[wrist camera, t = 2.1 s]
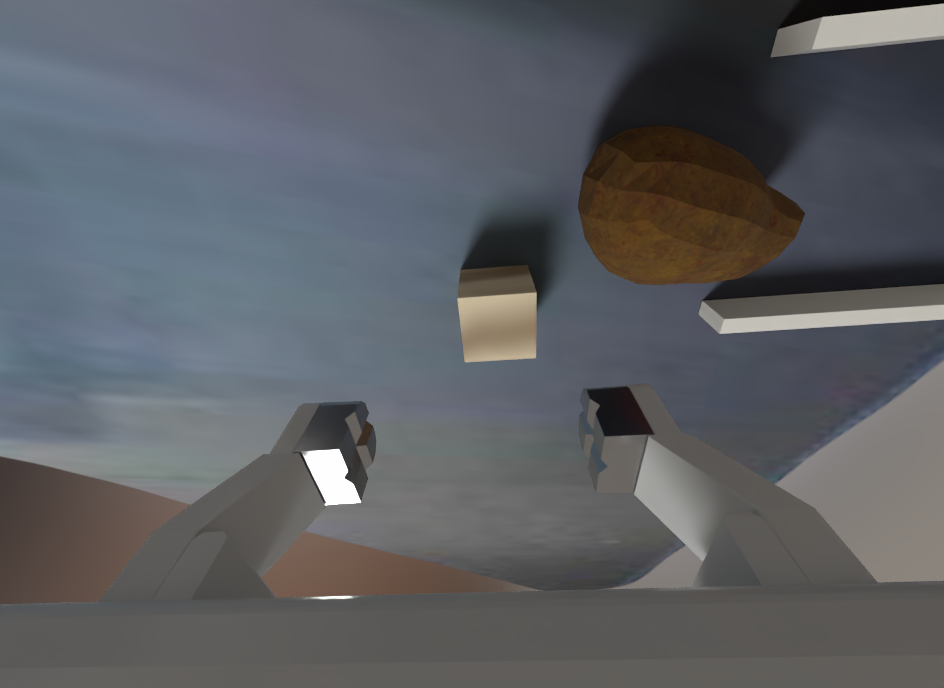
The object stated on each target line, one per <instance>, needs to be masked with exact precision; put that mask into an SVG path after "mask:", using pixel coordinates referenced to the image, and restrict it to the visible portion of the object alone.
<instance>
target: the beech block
mask: <svg viewBox="0 0 944 688" xmlns="http://www.w3.org/2000/svg"><path fill="white" fill-rule="evenodd" d="M536 306H537V292H536V289H535V286H534V283H533V280H532V277H531V274H530V271H529V268H528V265H519V266H505V267H492V268H479V269H466V270H460V279H459V289H458V307H459V316H460V324H461V333H462V341H463V350H464V359H465V362H478V361H494V360H510V359H526V358H536Z"/></svg>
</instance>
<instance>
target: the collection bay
mask: <svg viewBox="0 0 944 688" xmlns="http://www.w3.org/2000/svg"><path fill="white" fill-rule="evenodd" d="M938 39H944V4H936V5H927V6H918V7H909V8H900V9H891V10H882V11H873V12H864V13H855V14H846V15H837V16H828V17H821V18H818V19H814V20H810V21H807V22H803V23H799V24H796V25H792V26H788V27H785V28H781V29H778V32H777V35H776V39H775V42H774V46H773V49H772V53H771V57H778V56H788V55H797V54H806V53H816V52H825V51H835V50H844V49H854V48H863V47H872V46H882V45H891V44H901V43H910V42H919V41H929V40H938ZM699 315H700V316H701V317H702V318H703V319H704V320H705V321H706V322H707V323H708V324H709V325H711V326H712V327H713V328H714V329H715V330H716V331H717V332H718V333H719V334H724V333H740V332H755V331H771V330H786V329H802V328H817V327H833V326H849V325H864V324H880V323H895V322H911V321H926V320H942V319H944V284H935V285H921V286H907V287H892V288H878V289H864V290H849V291H835V292H821V293H806V294H792V295H777V296H763V297H749V298H734V299H720V300H706V301H702V304H701V307H700V311H699Z"/></svg>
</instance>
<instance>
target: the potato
mask: <svg viewBox="0 0 944 688" xmlns="http://www.w3.org/2000/svg"><path fill="white" fill-rule="evenodd" d="M578 209H579V213H580V218H581V222H582V227H583V231H584V236H585V239H586V241H587V242H588V244H589V246H590V248H591V249H592V251H593V253H594V255H595V256H596V258H597V259H598V260H599V261H600V262H601V263H602V264H603V266H604V267H605V268H606V269H607V270H608V271H609V272H611V273H613V274H616V275H618V276H620V277H622V278H624V279H627V280H629V281H632V282H634V283H637V284H651V285H665V284H678V283H710V282H717V281H724V280H731V279H738V278H740V277H742V276H745V275H747V274H749V273H751V272H754V271H756V270H758V269H759V268H761V267H762V266H764V265H765V264H767V263H768V262H770V261H771V260H773V259H774V258H776V257H777V256H779V255H780V254H781V253H782V252H783V251H784V249H785V248H786V247H787V246H788V245H789V244H790V243H791V242H792V241H793V240H794V239H795V237H796V235H797V232H798V230H799V227H800V225H801V222H802V220H803V217H804V214H805V213H804V212H803V210H802V209H801V208H800V207H799V206H798V205H797V204H796V203H795V202H793V201H792V200H790V199H789V198H788V197H786V196H785V195H783V194H782V193H780V192H778V191H777V190H775V189H773V188H771V187H770V186H768V185H767V184H766V182H765V180H764V177H763V175H762V174H761V173H760V172H759V171H758V170H757V168H756V167H755V166H754V165H753V164H752V163H751V162H750V161H749V160H748V159H747V158H746V157H745V156H743V155H742V154H740V153H739V152H738V151H736V150H734V149H732V148H730V147H728V146H725V145H723V144H721V143H719V142H717V141H715V140H713V139H710V138H708V137H706V136H704V135H701V134H699V133H696V132H693V131H690V130H687V129H684V128H681V127H671V126H659V125H657V126H648V127H639V128H632V129H628V130H625V131H622V132H621V133H619V134H617V135H616V136H614V137H612V138H610V139H609V140H607V141H605V142H604V143H602V144H600V145H599V146H598V148H597V150H596V152H595V154H594V155H593V157H592V159H591V161H590V163H589V165H588V167H587V169H586V170H585V172H584V174H583V178H582V185H581V191H580V197H579V203H578Z"/></svg>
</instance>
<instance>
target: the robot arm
mask: <svg viewBox="0 0 944 688" xmlns="http://www.w3.org/2000/svg"><path fill="white" fill-rule="evenodd" d="M581 404H582V407H583V410H584V411H583V412H582V413H581V414H580V415H579V437H580V442H581V446H582V450H583V453H584V454H585V455H586V456H588V457H589V467H588V469H589V472H590V475H591V479H592V482H593V485H594V488H595V491H596V493H633V492H635V493H634V495H635V496H636V497H637V498H638V499H640V500H641V501H642V502H643V503H644V504H645V505H646V506H647V507H648V508H649V509H650V510H651V511H652V512H653V513H654V514H655V515H656V516H657V517H658V518H659V519H660V520H661V521H662V522H663V523H664V524H665V525H666V526H667V527H668V528H669V529H670V530H671V531H672V532H673V533H674V534H675V535H676V536H677V537H678V538H679V539H681V540H682V541H683V542H684V543H685V544H686V545H687V546H688V547H689V548H690V549H691V550H692V551H693V552H694V553H695V554H696V555H697V556H698V557H699V558H700V559H701V560H702V561H703V563H702V565H701V567H700V569H699V571H698V573H697V575H696V577H695V579H694V581H693V583H692V586H691V587H688V588H687V587H685V588H649V589H648V588H646V589H603V590H562V591H522V592H480V593H441V594H402V595H364V596H325V597H324V596H323V597H283V598H275V595H274V593H273V591H272V590H271V589H270V588H269V586H268V585H267V584H266V583H265V581H264V580H263V579H262V577H263V576H264V575H265V573H266V572H267V571H268V570H269V569H270V568H271V567H272V566H273V564H275V562H276V561H277V560H278V559H279V558H280V557H281V556H282V555H283V554H284V552H285V551H286V550H287V549H288V548H289V547H290V546H291V545H292V544H293V543H294V541H295V540H296V539H297V538H298V537H299V536H300V535H301V534H302V533H303V532H304V530H305V529H306V528H307V527H308V526H309V525H310V524H311V523H312V522H313V520H314V519H315V518H316V517H317V516H318V515H319V514H320V513H321V512H322V511H323V509H324V508H325V507H326V506H325V505H331V504H345V503H360V502H361V500H362V496H363V493H364V490H365V487H366V483H367V480H368V477H367V474H366V471H365V470H366V469H367V468H368V467H369V466H370V465H371V464H372V463H373V460H374V456H375V451H376V436H375V431H374V428H373V426H372V425H371V424H370V423H368V422H367V421H366V419H367V417H368V414H369V412H368V410H367V407H366V404H365V403H364V402H362V401H352V402H323V403H304V404H302V405H301V406H299V407H298V409H297V410H296V412H295V414H294V415H293V417H292V419H291V420H290V422H289V423H288V425H287V427H286V428H285V430H284V432H283V433H282V435H281V436H280V438H279V440H278V441H277V443H276V444H275V446H274V448H273V449H272V451H271V453H270V454H263V455H262V456H260V457H259V458H258V459H256V460H255V461H253V462H252V463H250V464H249V465H248V466H246V467H245V468H243V469H242V470H240V471H239V472H238V473H236V474H235V475H233V476H232V477H230V478H229V479H227V480H226V481H225V482H223V483H222V484H220V485H219V486H217V487H216V488H215V489H213V490H212V491H210V492H209V493H207V494H206V495H205V496H203V497H202V498H200V499H199V500H197V501H196V502H195V503H193V504H192V505H190V506H189V507H187V508H186V509H185V510H183V511H182V512H180V513H179V514H178V515H176V516H175V517H173V518H172V519H170V520H169V521H168V522H166V523H165V524H163V525H162V526H160V527H159V528H157V529H156V530H155V531H153V532H152V533H151V535H150V536H149V537H148V538H147V540H146V541H145V542H144V544H143V545H142V546H141V547H140V549H139V550H138V551H137V553H136V554H135V555H134V557H133V558H132V559H131V560H130V562H129V563H128V564H127V565H126V567H125V568H124V569H123V571H122V572H121V573H120V574H119V576H118V577H117V578H116V580H115V581H114V582H113V583H112V585H111V586H110V587H109V589H108V590H107V591H106V593H105V594H104V595H103V596H102V598H101V599H100V600H99V601H98V602H83V603H42V604H3V605H0V688H944V581H925V582H924V581H923V582H885V583H878V582H877V581H876V580H875V579H874V578H873V576H872V575H871V574H870V573H869V572H868V570H867V569H866V568H865V567H864V566H863V565H862V563H861V562H860V561H859V560H858V559H857V557H856V556H855V555H854V554H853V553H852V552H851V550H850V549H849V548H848V547H847V546H846V544H845V543H844V542H843V541H842V540H841V539H840V537H839V536H838V535H837V534H836V533H835V531H834V530H833V529H832V528H831V527H830V526H829V524H828V523H827V522H826V521H825V520H824V518H823V517H822V516H821V515H820V514H819V513H818V511H817V510H816V509H815V508H813V507H812V506H810V505H808V504H807V503H805V502H803V501H802V500H800V499H798V498H796V497H795V496H793V495H792V494H790V493H788V492H786V491H785V490H783V489H781V488H780V487H778V486H776V485H775V484H773V483H771V482H770V481H768V480H766V479H765V478H763V477H761V476H760V475H758V474H756V473H754V472H753V471H751V470H749V469H748V468H746V467H744V466H743V465H741V464H739V463H738V462H736V461H734V460H733V459H731V458H729V457H727V456H726V455H724V454H722V453H721V452H719V451H717V450H716V449H714V448H712V447H711V446H709V445H707V444H706V443H704V442H702V441H701V440H699V439H697V438H695V437H694V436H692V435H690V434H682V433H681V432H680V430H679V428H678V427H677V425H676V424H675V422H674V421H673V419H672V418H671V416H670V414H669V413H668V411H667V410H666V408H665V407H664V405H663V404H662V402H661V400H660V399H659V397H658V396H657V394H656V393H655V391H654V390H653V388H652V387H651V386H650V385H649V384H638V385H626V386H617V387H601V388H585V389H583V390H582V393H581Z"/></svg>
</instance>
